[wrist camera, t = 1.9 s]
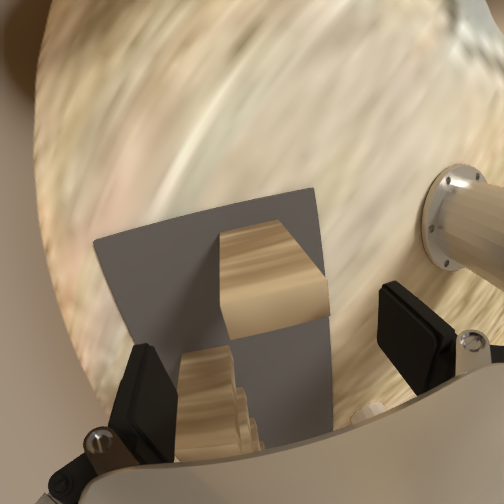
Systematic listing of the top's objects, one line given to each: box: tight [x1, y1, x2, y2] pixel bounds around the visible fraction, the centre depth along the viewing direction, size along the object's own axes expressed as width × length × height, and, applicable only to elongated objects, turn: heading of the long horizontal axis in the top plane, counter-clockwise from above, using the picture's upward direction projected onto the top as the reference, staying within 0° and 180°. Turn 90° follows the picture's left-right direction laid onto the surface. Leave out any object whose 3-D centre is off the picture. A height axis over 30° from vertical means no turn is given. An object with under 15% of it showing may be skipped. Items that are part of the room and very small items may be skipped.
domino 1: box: [175, 345, 242, 462], centre depth 23 cm, size 2×5×12 cm, turn 102°
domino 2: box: [236, 386, 254, 454], centre depth 25 cm, size 2×5×12 cm, turn 101°
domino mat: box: [93, 188, 333, 449], centre depth 30 cm, size 20×36×1 cm, turn 11°
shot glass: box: [351, 402, 387, 425], centre depth 33 cm, size 7×7×7 cm
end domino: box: [220, 220, 330, 340], centre depth 19 cm, size 2×5×12 cm, turn 102°
